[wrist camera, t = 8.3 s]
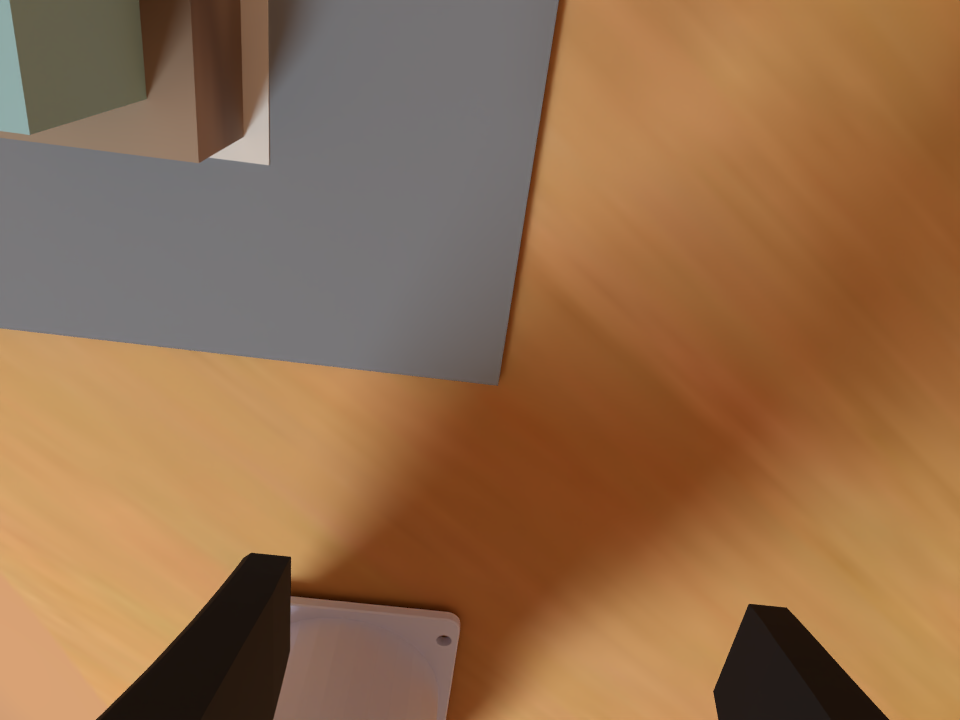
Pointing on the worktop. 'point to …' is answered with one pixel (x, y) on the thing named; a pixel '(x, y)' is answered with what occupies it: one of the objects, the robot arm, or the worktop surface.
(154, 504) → the worktop surface
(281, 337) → the build mat
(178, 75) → the walnut base block
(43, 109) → the teal cube
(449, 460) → the worktop surface
